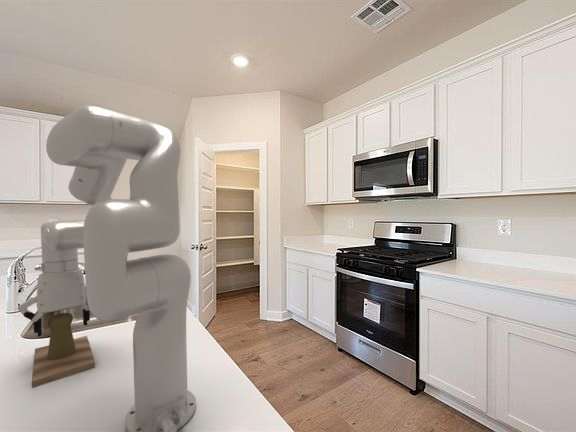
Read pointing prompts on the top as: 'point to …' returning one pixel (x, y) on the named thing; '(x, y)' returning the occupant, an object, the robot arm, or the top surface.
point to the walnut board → (62, 363)
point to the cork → (61, 337)
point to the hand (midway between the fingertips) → (63, 329)
